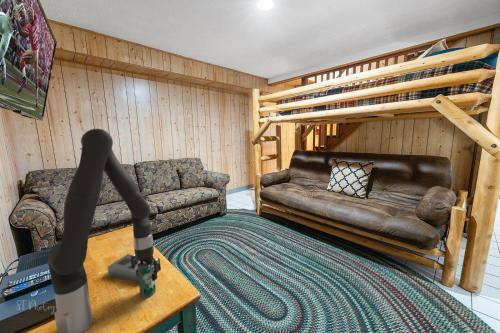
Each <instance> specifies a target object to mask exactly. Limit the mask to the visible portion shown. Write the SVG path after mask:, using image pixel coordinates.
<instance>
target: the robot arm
mask: <svg viewBox="0 0 500 333" xmlns="http://www.w3.org/2000/svg"><path fill="white" fill-rule="evenodd" d="M80 138H81V139H80V143H81V144H80V145H81V154H80V158H79V164H78V167H77V168H76V172H75V173H74V175H73V177H72V180H71V182H70V185H69V188H68V190H67V193H66V197H65V201H64V207H63V232H62V237H61V240H60V242H58V243H56V244H55V245H54V246H52V247H51V249H50V251H49V253H48V255H47V261H48V262H47V264H48V269H49V274H50V281H51V284H52V288H53V293H54V300H55V306H56V311H55V312H54V313H53V314H54V320H55V325H56V332H57V333H85V332H86V331H87V330H88V329H89V328H90V327H91V326H92V324H93V321H94V320H93V314H92V303H91V298H90V290H89V282H88V274H87V272H86V269H85V266H84V263H85V260H86V258H87V252H88V251H87V250H88V244H89V235H90V230H91V227H92V224H93V220H94V217H95V213H96V210H97V206H98V204H99V200H100V196H101V195H100V194H101V190H102V185H103V176H104V173H105V175H106V176H107V177H108V179H109V181H110V182H111V184H112V186H113V187H114V188H115V191H117V193H118V195H119V197H120V198H121V199H122V200H123V201H124V202H125V205H126V207H127V208H128V209H129V212H130V215H131V221H132V232H133V234H132V235H133V249H134V250H133V252H134V254H131V255H132V256H131V267H132V268H135V270H136V276H137V277H138V267H137V264H143V265H147V269H148V270H150V271H151V273H152V281H155V282H156V281H157V279H158V273H159V272H161V269H162V267H161V259H160V258H159V257H157V258H155V257H154V252H155V248H154V237H153V234H152V225H151V222H150V219H149V218H150V216H149V215H150V213H151V207H150V206H151V205H150V204H149V203H148V202H147V201H146V199H145V197H144V196H143V194H142V193H141V191H140V189H139V187H138V186H137V184H136V182H135V181H134V179H133V178H132V176H131V174H130V173H128V171H127V170H126V169H125V168H124V166H123V165H122V164H121V163H120V161H119V160H118V158H117V156H116V155H115V153H114V150H113V144H114V143H113V141H114V140H113V137H112V135H111V134H110V133H109V132H108V131H107V130H105V129H102V128H91V129H90V130H89V129H88V130H87V131H85V133H83V135H82V136H81V137H80ZM152 262H153V265H152V266H151V267H150V266H149V265H150V264H151V263H152ZM134 263H135V264H134ZM152 268H154V270H153V269H152ZM138 278H139V277H138Z"/></svg>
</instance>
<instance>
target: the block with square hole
mask: <svg viewBox="0 0 500 333" xmlns="http://www.w3.org/2000/svg"><path fill="white" fill-rule="evenodd" d="M132 255H133V254H128V253H127V254H126V255H124V256H122V257H120V258H119V259H118V260H116V261H115V262H114V261H113V263H111V264H109V265H108V266H107V273H108V276H109V277H113V278H116V279H120V280H121V279H122V280H124V281H128V282H132V283H133V282H134V283H138V284H139V278H138V277H137V276H136V270H135V268H132V267H131V256H132ZM134 264H135V263H134Z"/></svg>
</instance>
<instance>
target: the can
mask: <svg viewBox="0 0 500 333" xmlns="http://www.w3.org/2000/svg"><path fill="white" fill-rule="evenodd" d="M152 265H153V262H152V263H151V264H150V265H149V266H150V267H151V266H152ZM137 267H138V277H139V283H138V285H139V286H138V287H139V296H140V297H141V298H142V299H146V298H151V297H152V296H154V294H155V293H156V291H157V290H156V280H155V281H152V273H151V271H150V270H148V269H147V265H143V264H137ZM152 269H153V270H154V268H152Z"/></svg>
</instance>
